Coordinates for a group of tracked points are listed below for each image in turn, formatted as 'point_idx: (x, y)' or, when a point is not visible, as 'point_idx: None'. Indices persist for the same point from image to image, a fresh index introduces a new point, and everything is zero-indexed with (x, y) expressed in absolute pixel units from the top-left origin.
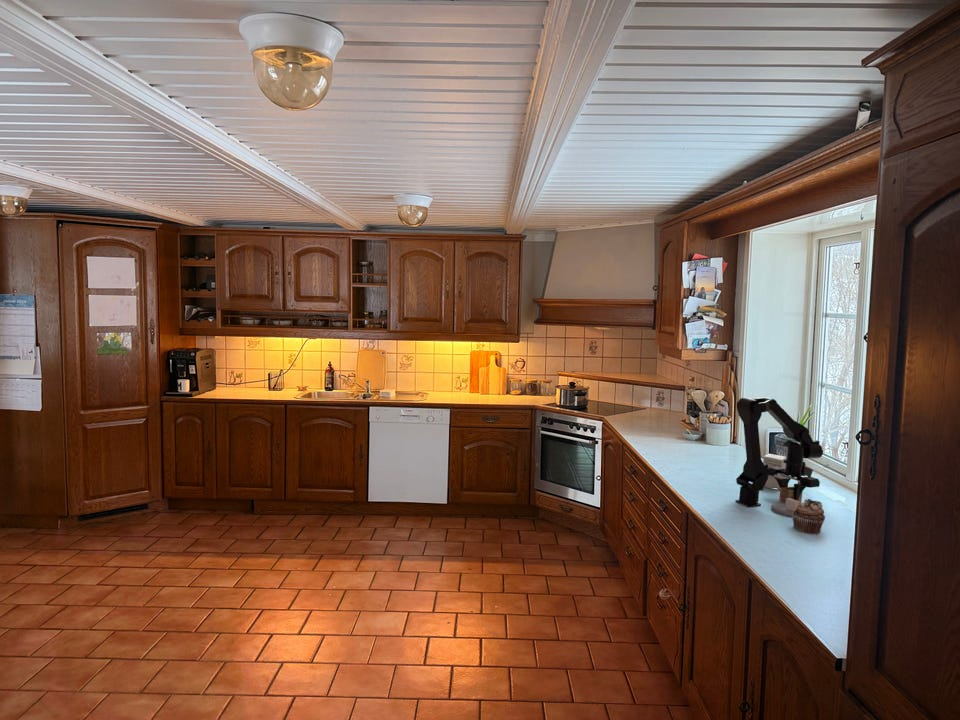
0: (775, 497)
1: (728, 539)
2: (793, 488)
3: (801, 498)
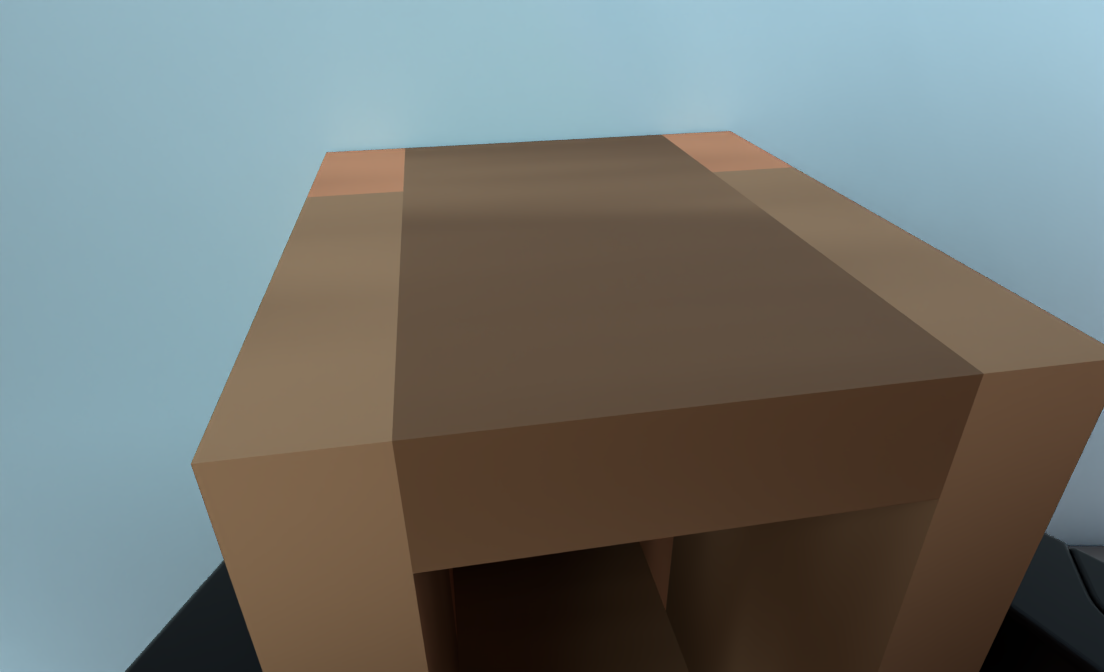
0: (100, 508)
1: None
2: (477, 510)
3: (798, 186)
